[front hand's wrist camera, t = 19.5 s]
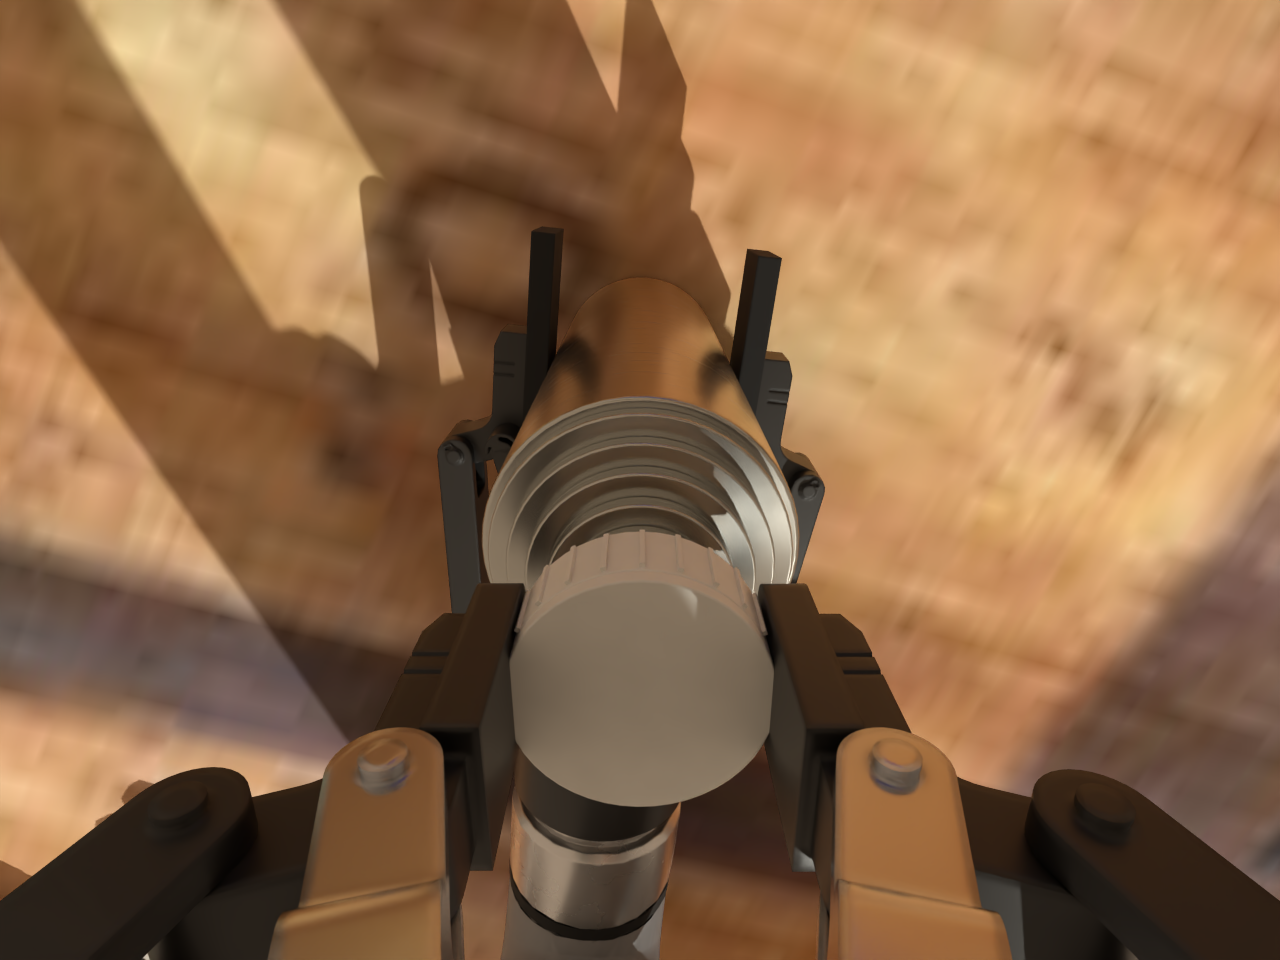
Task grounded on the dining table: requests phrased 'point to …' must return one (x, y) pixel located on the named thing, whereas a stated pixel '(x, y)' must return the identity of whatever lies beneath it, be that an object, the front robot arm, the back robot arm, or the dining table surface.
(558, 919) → the back robot arm
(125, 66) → the dining table surface
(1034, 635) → the dining table surface
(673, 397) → the bottle
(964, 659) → the dining table surface
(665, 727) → the cap
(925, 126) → the dining table surface
